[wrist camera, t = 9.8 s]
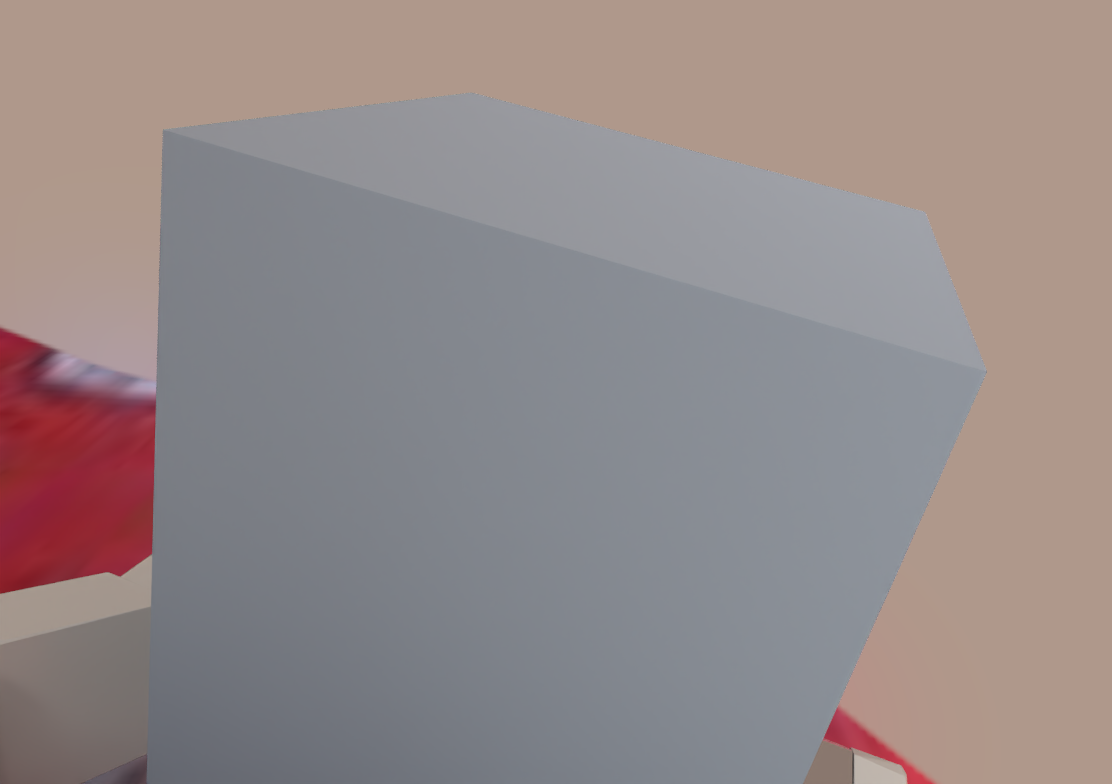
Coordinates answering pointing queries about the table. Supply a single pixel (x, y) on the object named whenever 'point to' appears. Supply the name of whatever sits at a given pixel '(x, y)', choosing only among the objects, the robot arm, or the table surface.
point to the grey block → (526, 450)
